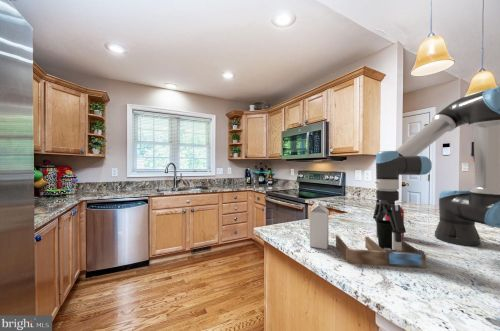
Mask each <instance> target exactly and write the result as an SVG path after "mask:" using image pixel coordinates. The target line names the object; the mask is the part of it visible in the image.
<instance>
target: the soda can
mask: <svg viewBox="0 0 500 331" xmlns="http://www.w3.org/2000/svg"><path fill="white" fill-rule="evenodd" d="M400 210H401V215H402V219H403V223H404V224H405V210H404V209H403V206H401V205H400ZM383 220H388V221H390V220H389V217H388V216H387V215H385V217H384V218H383ZM404 236H405V233H401V239H402V238H405V237H404Z"/></svg>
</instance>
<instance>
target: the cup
mask: <svg viewBox="0 0 500 331" xmlns="http://www.w3.org/2000/svg"><path fill="white" fill-rule="evenodd" d="M376 225H377V234H378V238H377V240H378V241H377V242H378V245H379V246H380V247H381V248H382V249H383V248H390V249H391V250H392V231H393V228H392V225H391V222H390V221H388V220H384V219H383V220H378V221H375V226H376ZM392 251H393V252H398V250H392Z"/></svg>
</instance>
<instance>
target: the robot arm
mask: <svg viewBox="0 0 500 331" xmlns="http://www.w3.org/2000/svg"><path fill="white" fill-rule="evenodd" d="M466 124H468V127H470V128H471V129H473V147H474V149H473V152H474V153H473V154H474V155H473V156H474V157H473V160H474V187H473V188H471V189H470V190H441V191H440V192H439V197H438V210H439V213H438V215H439V217H438V219H439V221H438V224H437V225H436V228H435V230H434V237H435V238H436V239H437V240H440V241H443V242H445V243H450V244H455V245H460V246H469V247H478V246H481V244H482V240H481V237H480V235H479V232H478V230H477V228H476V224H475V223H477V224H481V225H485V226H488V227H491V228H499V229H500V86H496V87H492V88H487V89H485V90H482V91H479V92H476V93H473V94H470V95H467V96H464V97H460V98H459V99H456V100H454V101H453V102H451V103H450V104H448V105H447V106H446V107H444V108H442V109H441V110H440V111H439V112H437V113H436V114H435V115H434V116H433V117H432V118H431V121H430V122H429V123H427V125H425V126H424V127H422V128H421V129H419V131H418V132H416V133H415V134H414V135H413V136H411V137H410V138H409V139H408V140H407V141H405V142H404V143H402V144H401V145H400V146H399V147H397V148H396V150H382V151H381V150H380V151H378V152H377V153H376V154H375V156H376V157H375V173H376V174H375V177H376V180H375V182H374V183H375V184H376V190H375V191H376V192H375V194H376V195H375V196H376V197H375V198H376V200H375V208H374V212H373V220H374V221H375V222H376V221H378V220H384V217H385V215H387V216H388V217H389V220H390V222H391V225H392V228H393V231H392V250H397V251H398V252H400V251H401V240H402V238H401V233H404V234H405V233H406V232H407V231H406V228H405V222H404V223H403V219H402V215H401V210H400V206H401V205H400V204H396V203H395V202H398V201H399V199H400V192H399V189H400V182H399V181H400V176H402V175H404V176H420V175H421V176H423V175H427V174H429V173H430V172H431V170H432V165H433V163H432V161H431V159H430V157H428V156H425V155H423V156H421V155H419V154H421V153H422V152H423V151H425V150H426V149H427V148H428V147H430V146H431V145H432V144H433V143H435V142H436V141H437V140H438V139H440V138H441V137H442V136H444V135H445V134H446V133H448V132H452V131H454V130H455V129H456V128H458V127H460V126H463V125H466ZM375 238H377V239H378V234H377V225H376V224H375Z"/></svg>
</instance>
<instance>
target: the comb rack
mask: <svg viewBox="0 0 500 331" xmlns="http://www.w3.org/2000/svg"><path fill="white" fill-rule="evenodd" d="M364 241H365V242H364V243H365V245H364V247H365V248H366V249H356V248H354V249H352V248H349V247H348V246H347V244H346V243H345V242H344V241H343V240H342V239H341V237H340V236H339V235H338V234H335V247H336V248H337V250H338V251H339V252H340V255H341V256H342V257H343V259H344V260H345V262H346V263H347V264H355V265H356V264H358V265H359V264H360V265H361V264H362V265H375V266H389V267H402V268H403V267H405V268H406V267H407V268H419V269H420V268H421V269H426V267H427V266H426V264H427V263H426V261H427V260H426V259H427V258H426V256H427V254H425V251H423V250H422V249H418V248H416V247H414V246H412V245H411V244H409V243H408V242H406V241H405V240H403V239H401V251H396V252H393V251H392V250H391V249H390V248H383V249H382V248H381V247H380V246H379V244H377V243H376V242H375V241H374V240H373V239H372V238H370V237H369V236H365V240H364Z"/></svg>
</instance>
